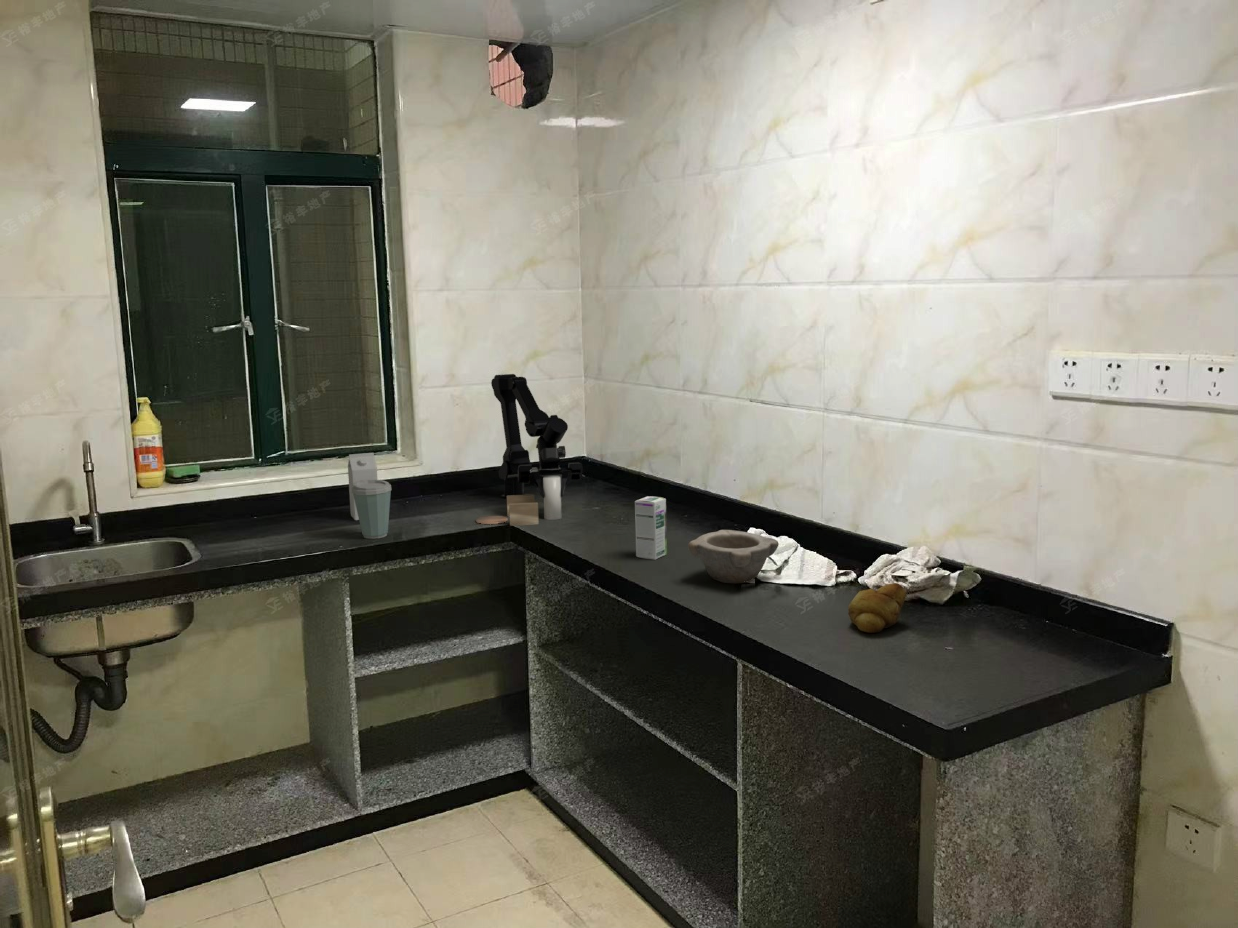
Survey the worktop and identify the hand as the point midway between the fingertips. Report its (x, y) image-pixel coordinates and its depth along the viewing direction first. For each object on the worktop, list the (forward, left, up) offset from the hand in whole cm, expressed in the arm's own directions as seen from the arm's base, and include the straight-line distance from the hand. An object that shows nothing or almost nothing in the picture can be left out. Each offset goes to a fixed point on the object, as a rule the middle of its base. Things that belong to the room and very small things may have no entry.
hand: (552, 496), depth 282 cm
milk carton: (+26, -50, -7) cm, 57 cm away
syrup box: (+20, +45, -7) cm, 50 cm away
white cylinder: (-1, -1, -7) cm, 7 cm away
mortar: (+27, +71, -7) cm, 76 cm away
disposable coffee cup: (+41, -30, -7) cm, 51 cm away
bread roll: (+42, +109, -7) cm, 116 cm away
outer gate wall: (+9, -3, -7) cm, 12 cm away
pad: (+11, -14, -7) cm, 19 cm away
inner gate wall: (+1, -11, -7) cm, 13 cm away
